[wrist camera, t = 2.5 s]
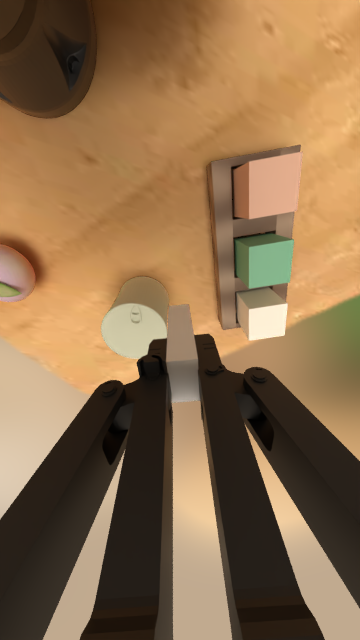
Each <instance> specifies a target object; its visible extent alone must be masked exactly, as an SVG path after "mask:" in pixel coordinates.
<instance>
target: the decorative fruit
mask: <svg viewBox="0 0 360 640" xmlns="http://www.w3.org/2000/svg"><path fill="white" fill-rule="evenodd" d="M35 282H36V277H35V272H34V270H33V267H32V266H31V264H30V262H29V261H28V260H27V259H26V258H25V257H24V256H23V255H22V254H20V253H19V252H18V251H16V250H15V249H13V248H11V247H8V246H6V245H2V244H0V301H5V302H16V301H20V300H22V299H24V298H26V297H27V296H28V295H30V293H31V292H32V291H33V289H34V287H35Z"/></svg>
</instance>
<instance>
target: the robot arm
mask: <svg viewBox="0 0 360 640" xmlns="http://www.w3.org/2000/svg"><path fill="white" fill-rule="evenodd" d="M96 50H97V46H96V29H95V22H94V16H93V11H92V7H91V3H90V0H0V99H1V100H3V101H4V102H6V103H8V104H9V105H11V106H13V107H14V108H16V109H18V110H19V111H21V112H23V113H26V114H28V115H31V116H35V117H40V118H54V117H59V116H62V115H64V114H66V113H68V112H70V111H71V110H73V109H74V108H75V107H76V106H77V105H78V104H79V103H80V102H81V100H82V99H83V98H84V96H85V94H86V93H87V91H88V88H89V86H90V84H91V81H92V77H93V74H94V69H95V63H96ZM137 367H138V371H139V375H140V378H139V379H138V380H136V381H134V382H132V383H129V384H126V385H123V383H121V382H120V381H117V380H110V381H107V382H104V383H103V384H101V385H100V386H99V387H98V388H97V389H96V390H95V391H94V393H93V394H92V395H91V397H90V398H89V400H88V401H87V402H86V404H85V405H84V406H83V408H82V409H81V410H80V412H79V413H78V414H77V416H76V417H75V419H74V420H73V421H72V423H71V424H70V425H69V427H68V428H67V430H66V431H65V432H64V434H63V435H62V436H61V438H60V439H59V440H58V442H57V443H56V444H55V446H54V447H53V449H52V450H51V451H50V453H49V454H48V455H47V457H46V458H45V459H44V461H43V462H42V464H41V465H40V466H39V468H38V469H37V470H36V472H35V473H34V475H33V476H32V477H31V479H30V480H29V481H28V483H27V484H26V485H25V487H24V488H23V490H22V491H21V492H20V494H19V495H18V496H17V498H16V499H15V500H14V502H13V503H12V504H11V506H10V507H9V509H8V510H7V511H6V513H5V514H4V515H3V517H2V518H1V520H0V640H43V637H44V635H45V633H46V631H47V628H48V626H49V624H50V621H51V619H52V617H53V614H54V612H55V610H56V607H57V605H58V603H59V601H60V598H61V596H62V594H63V591H64V589H65V587H66V584H67V582H68V580H69V577H70V575H71V573H72V570H73V568H74V566H75V563H76V561H77V559H78V557H79V554H80V552H81V550H82V547H83V545H84V543H85V541H86V538H87V536H88V534H89V531H90V529H91V527H92V524H93V522H94V520H95V517H96V515H97V513H98V511H99V508H100V506H101V504H102V501H103V499H104V497H105V494H106V492H107V490H108V487H109V485H110V483H111V481H112V478H113V476H114V473H115V471H116V469H117V466H118V464H119V462H120V460H121V457H122V455H123V453H124V451H125V454H124V459H123V464H122V469H121V474H120V479H119V484H118V489H117V494H116V499H115V504H114V509H113V514H112V519H111V524H110V529H109V534H108V539H107V545H106V550H105V554H104V559H103V565H102V570H101V575H100V580H99V585H98V590H97V595H96V600H95V604H94V608H93V612H92V615H91V618H90V620H89V622H88V624H87V626H86V627H85V629H84V631H83V633H82V634H81V637H80V640H173V411H172V403H176V402H188V401H201V416H202V420H203V427H204V434H205V441H206V449H207V456H208V463H209V471H210V478H211V485H212V492H213V500H214V507H215V515H216V522H217V528H218V537H219V543H220V551H221V558H222V566H223V573H224V580H225V587H226V595H227V601H228V608H229V617H230V624H231V632H232V640H325V639H324V637H323V634H322V632H321V630H320V628H319V626H318V623H317V621H316V619H315V617H314V616H313V615H312V613H311V611H310V610H309V608H308V607H307V605H306V604H305V601H304V599H303V597H302V595H301V592H300V589H299V587H298V584H297V581H296V578H295V575H294V572H293V569H292V566H291V563H290V560H289V557H288V554H287V551H286V548H285V545H284V541H283V539H282V536H281V532H280V529H279V526H278V524H277V520H276V518H275V514H274V512H273V508H272V505H271V503H270V499H269V496H268V493H267V491H266V487H265V484H264V481H263V478H262V475H261V472H260V469H259V466H258V463H257V460H256V457H255V454H254V451H253V448H252V445H251V442H250V439H249V436H248V433H247V430H246V427H245V425H246V426H247V428H248V429H249V431H250V433H251V434H252V436H253V437H254V439H255V441H256V442H257V444H258V445H259V447H260V449H261V450H262V452H263V454H264V455H265V457H266V458H267V460H268V462H269V463H270V465H271V466H272V468H273V470H274V471H275V473H276V474H277V476H278V478H279V479H280V481H281V483H282V484H283V486H284V487H285V489H286V490H287V492H288V494H289V495H290V497H291V499H292V500H293V501H294V503H295V505H296V506H297V508H298V510H299V511H300V513H301V515H302V516H303V518H304V520H305V521H306V523H307V524H308V526H309V528H310V529H311V531H312V532H313V534H314V535H315V537H316V539H317V540H318V542H319V544H320V545H321V547H322V548H323V550H324V552H325V553H326V554H327V556H328V558H329V560H330V561H331V563H332V564H333V566H334V568H335V569H336V571H337V572H338V574H339V576H340V577H341V579H342V580H343V582H344V584H345V585H346V587H347V589H348V590H349V592H350V593H351V595H352V597H353V598H354V600H355V601H356V603H357V605H358V606H359V608H360V461H359V460H358V459H357V458H356V457H355V456H354V455H353V454H352V453H351V452H350V451H349V450H348V449H347V448H346V447H345V446H344V445H343V444H342V443H341V442H340V441H339V440H338V439H337V438H336V437H335V436H334V435H333V434H332V433H331V432H330V431H329V430H328V429H327V428H326V427H325V426H324V425H323V424H322V423H321V422H320V421H319V420H318V419H317V418H316V417H315V416H314V415H313V414H312V413H311V412H310V411H309V410H308V409H307V408H306V407H305V406H304V405H303V404H302V403H301V402H300V401H299V400H298V399H297V398H296V397H295V396H294V395H293V394H292V393H291V392H290V391H289V390H288V389H287V388H286V387H285V386H284V385H283V384H282V383H281V382H280V381H279V380H278V379H277V378H276V377H275V376H274V375H273V374H272V373H271V372H270V371H268V370H266V369H264V368H260V367H252V368H249V369H247V370H246V371H245V372H244V374H241V373H235V372H231V371H229V370H227V369H226V368H225V366H224V365H222V363H221V360H220V357H219V354H218V350H217V348H216V344H215V341H214V338H213V337H212V336H211V335H210V334H202V335H194V332H193V326H192V320H191V314H190V308H189V304H184V305H173V306H169V311H168V332H167V338H163V339H153V340H152V342H151V343H150V344H149V348H148V354H147V355H145V356H142V357H141V358H140V359H139V360H138V362H137ZM244 423H245V424H244ZM125 448H126V449H125Z"/></svg>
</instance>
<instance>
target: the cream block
mask: <svg viewBox="0 0 360 640" xmlns="http://www.w3.org/2000/svg"><path fill="white" fill-rule="evenodd" d="M287 306H288V303H287V302H286V301H284V300H283V299H282V298H281V297H280V296H279V295H277V294H276V293H275V292H274V291H273V290H272V289H270V288H269V287H261V288H255V289H249V290H242V291H236V314H237V320H238V322H239V324H240V326H241V328H242V329H243V331H244V333H245V335H246V336H247V338H248V340H249V341H250V340H257V339H264V338H271V337H277V336H284V335H285V326H286V316H287Z"/></svg>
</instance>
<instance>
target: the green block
mask: <svg viewBox="0 0 360 640" xmlns="http://www.w3.org/2000/svg"><path fill="white" fill-rule="evenodd" d="M293 245H294V239H290V238H287V237H283V236H280V235H276V234H273V233H266V234H260V235H254V236H248V237H242V238H237V239H234V248H235V274H236V275H237V276H238V277H239V278H240V279H241V281H242V282H243V283H244V284H245V285H246V286H247V287H248V288H249V289H251V288H257V287H263V286H270V285H276V284H282V283H289V282H290V276H291V266H292V255H293Z"/></svg>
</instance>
